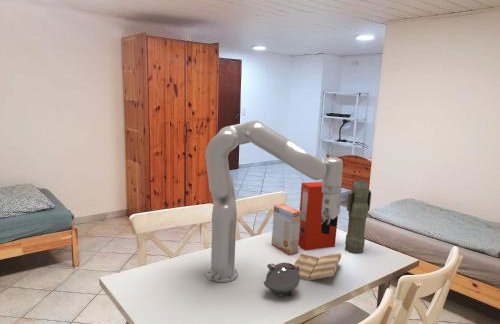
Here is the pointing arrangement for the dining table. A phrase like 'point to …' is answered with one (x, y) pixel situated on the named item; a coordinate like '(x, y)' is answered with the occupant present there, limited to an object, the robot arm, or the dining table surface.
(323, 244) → the file binder
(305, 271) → the laid planks
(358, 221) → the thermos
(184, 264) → the dining table surface
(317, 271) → the board
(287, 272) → the piggy bank
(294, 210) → the cracker box
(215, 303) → the dining table surface
